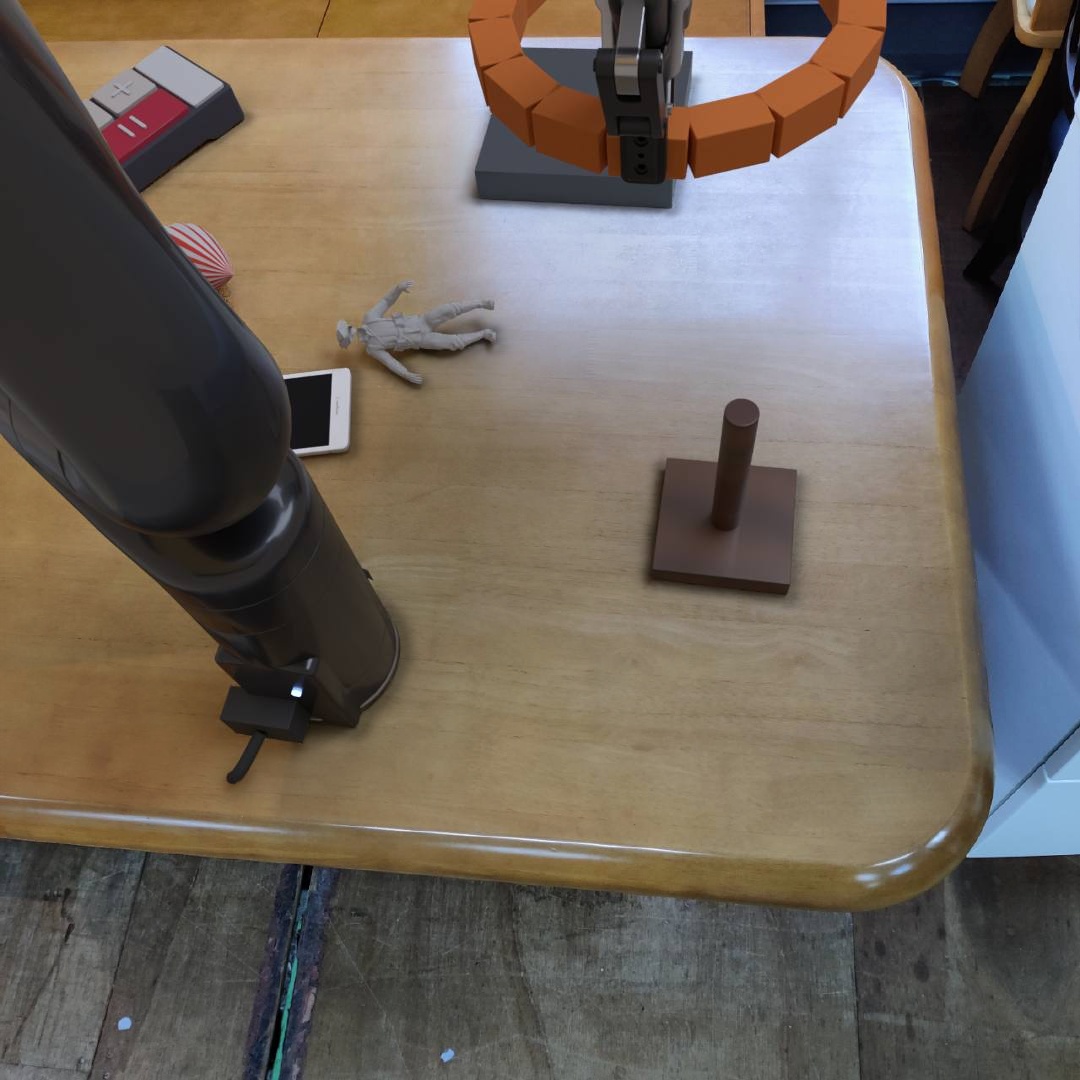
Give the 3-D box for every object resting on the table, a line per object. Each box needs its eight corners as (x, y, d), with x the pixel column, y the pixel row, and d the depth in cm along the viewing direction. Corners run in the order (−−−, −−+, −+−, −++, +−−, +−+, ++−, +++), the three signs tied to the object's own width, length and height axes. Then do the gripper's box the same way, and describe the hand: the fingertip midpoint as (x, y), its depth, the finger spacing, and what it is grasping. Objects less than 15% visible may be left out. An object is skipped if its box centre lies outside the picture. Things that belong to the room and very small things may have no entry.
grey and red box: (37, 125, 89) (161, 36, 93) (63, 162, 93) (181, 75, 97) (101, 173, 85) (228, 78, 89) (126, 210, 89) (247, 116, 93)
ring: (872, 189, 46) (883, 147, 44) (437, 168, 50) (428, 129, 47) (880, -72, 56) (890, -116, 54) (518, -72, 59) (513, -114, 57)
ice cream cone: (135, 270, 90) (270, 308, 80) (70, 277, 86) (204, 319, 75) (126, 201, 87) (265, 231, 77) (59, 205, 83) (196, 238, 72)
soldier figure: (500, 378, 75) (348, 389, 71) (482, 375, 80) (338, 385, 76) (495, 277, 74) (338, 282, 70) (476, 279, 78) (329, 284, 74)
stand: (671, 208, 81) (672, 179, 79) (479, 198, 84) (474, 170, 82) (691, 80, 89) (692, 50, 87) (515, 75, 92) (511, 46, 90)
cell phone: (155, 395, 76) (152, 390, 76) (352, 371, 76) (350, 366, 75) (143, 476, 73) (139, 471, 72) (349, 452, 72) (347, 447, 71)
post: (787, 594, 63) (820, 486, 51) (651, 579, 65) (653, 470, 53) (794, 480, 67) (826, 356, 55) (666, 468, 69) (671, 345, 57)
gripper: (575, -341, 37) (596, 68, 52) (502, -147, 30) (550, 255, 45) (773, -350, 35) (735, 72, 51) (740, -149, 29) (708, 265, 44)
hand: (647, 157), depth 48 cm, fingers closed on ring, 2 cm apart
